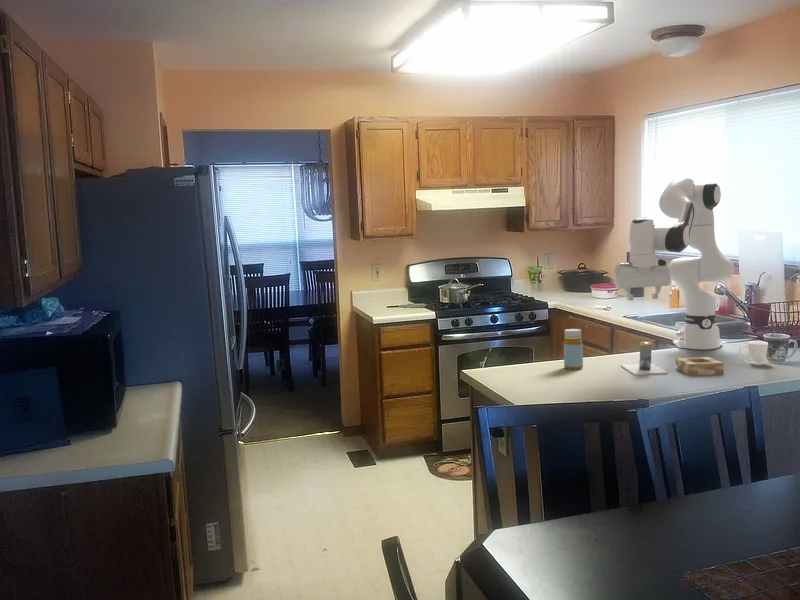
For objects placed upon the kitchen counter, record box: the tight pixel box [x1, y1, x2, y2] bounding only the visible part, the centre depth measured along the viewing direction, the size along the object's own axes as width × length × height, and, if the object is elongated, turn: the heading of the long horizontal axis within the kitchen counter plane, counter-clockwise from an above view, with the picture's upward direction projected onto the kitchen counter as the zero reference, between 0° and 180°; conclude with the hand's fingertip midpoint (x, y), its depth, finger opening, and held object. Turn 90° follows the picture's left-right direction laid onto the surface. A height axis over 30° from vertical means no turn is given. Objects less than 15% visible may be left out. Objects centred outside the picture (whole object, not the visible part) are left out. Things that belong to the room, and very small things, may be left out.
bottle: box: [563, 328, 584, 370], centre depth 260 cm, size 7×7×15 cm
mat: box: [620, 363, 669, 376], centre depth 251 cm, size 16×12×1 cm
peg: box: [638, 341, 653, 370], centre depth 249 cm, size 4×4×10 cm
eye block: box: [675, 356, 724, 377], centre depth 245 cm, size 12×12×4 cm
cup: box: [738, 340, 769, 366], centre depth 253 cm, size 7×10×8 cm
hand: (642, 299), depth 248 cm, fingers open, 8 cm apart
